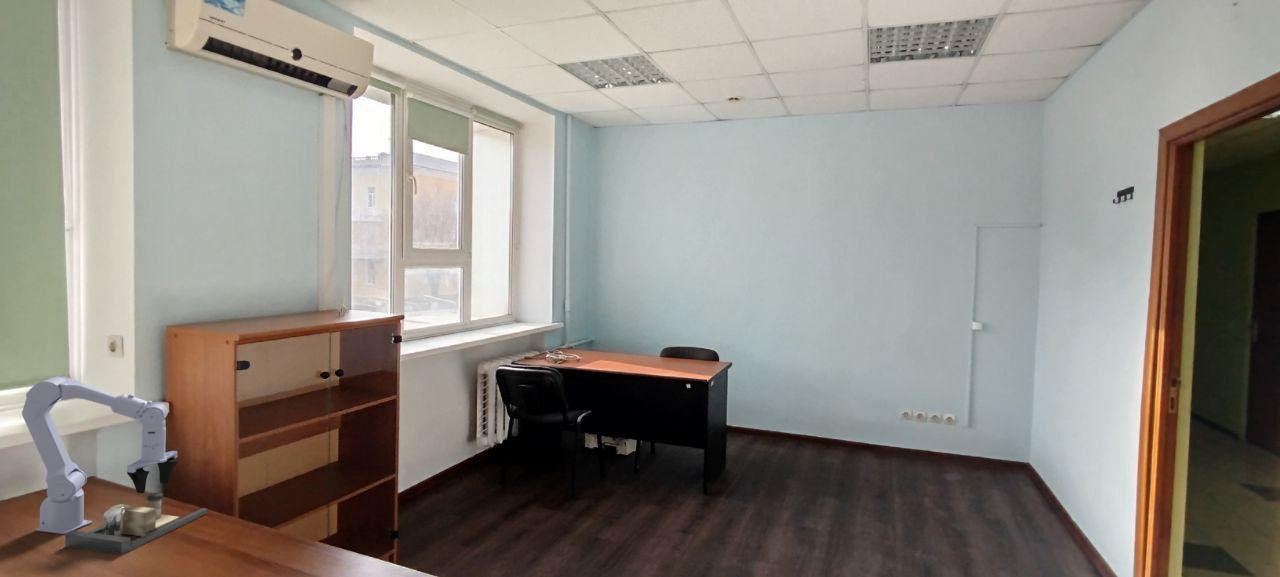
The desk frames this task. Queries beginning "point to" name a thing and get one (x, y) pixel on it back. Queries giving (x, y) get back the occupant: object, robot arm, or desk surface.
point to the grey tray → (121, 544)
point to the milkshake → (114, 521)
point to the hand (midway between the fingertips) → (152, 487)
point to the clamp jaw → (145, 517)
